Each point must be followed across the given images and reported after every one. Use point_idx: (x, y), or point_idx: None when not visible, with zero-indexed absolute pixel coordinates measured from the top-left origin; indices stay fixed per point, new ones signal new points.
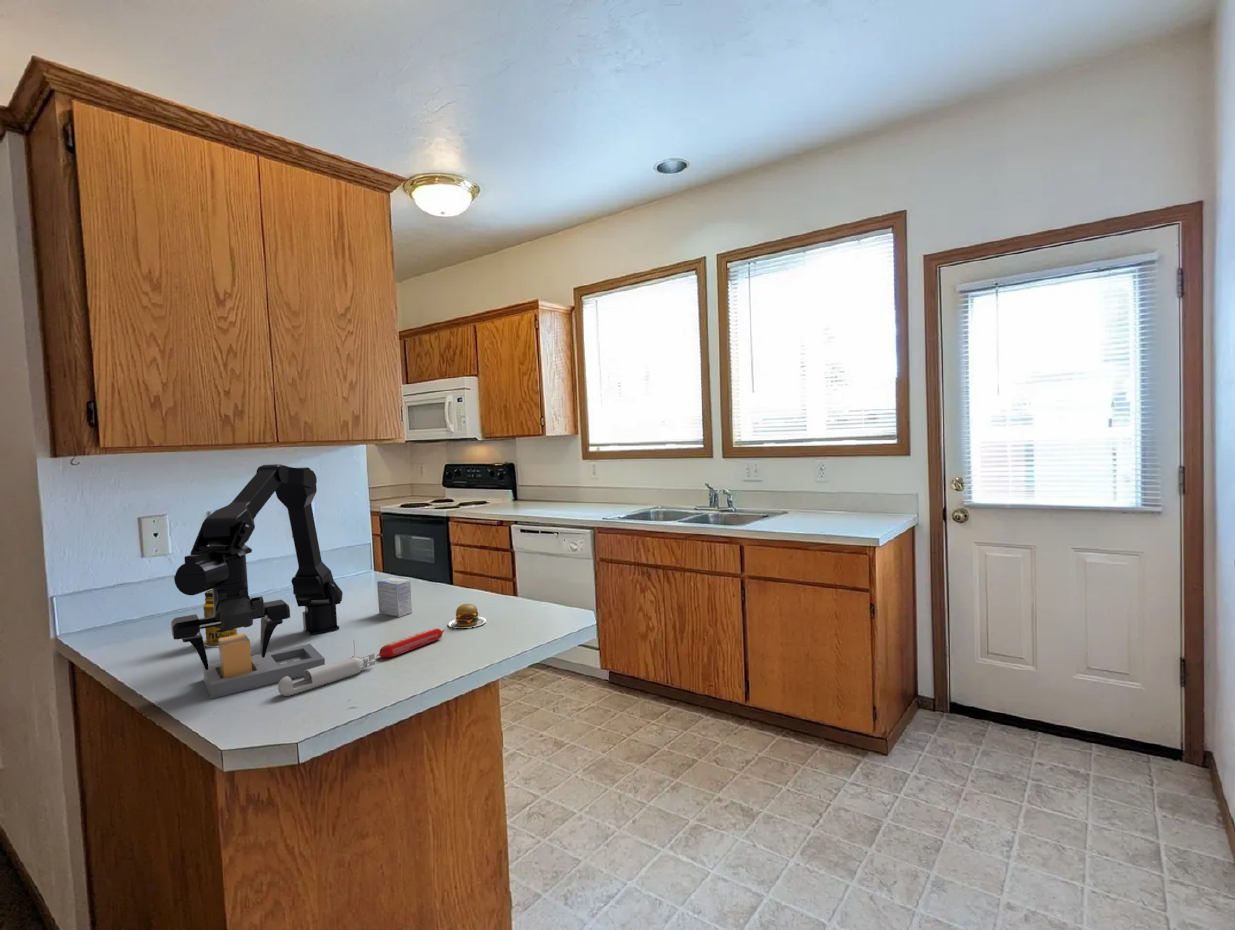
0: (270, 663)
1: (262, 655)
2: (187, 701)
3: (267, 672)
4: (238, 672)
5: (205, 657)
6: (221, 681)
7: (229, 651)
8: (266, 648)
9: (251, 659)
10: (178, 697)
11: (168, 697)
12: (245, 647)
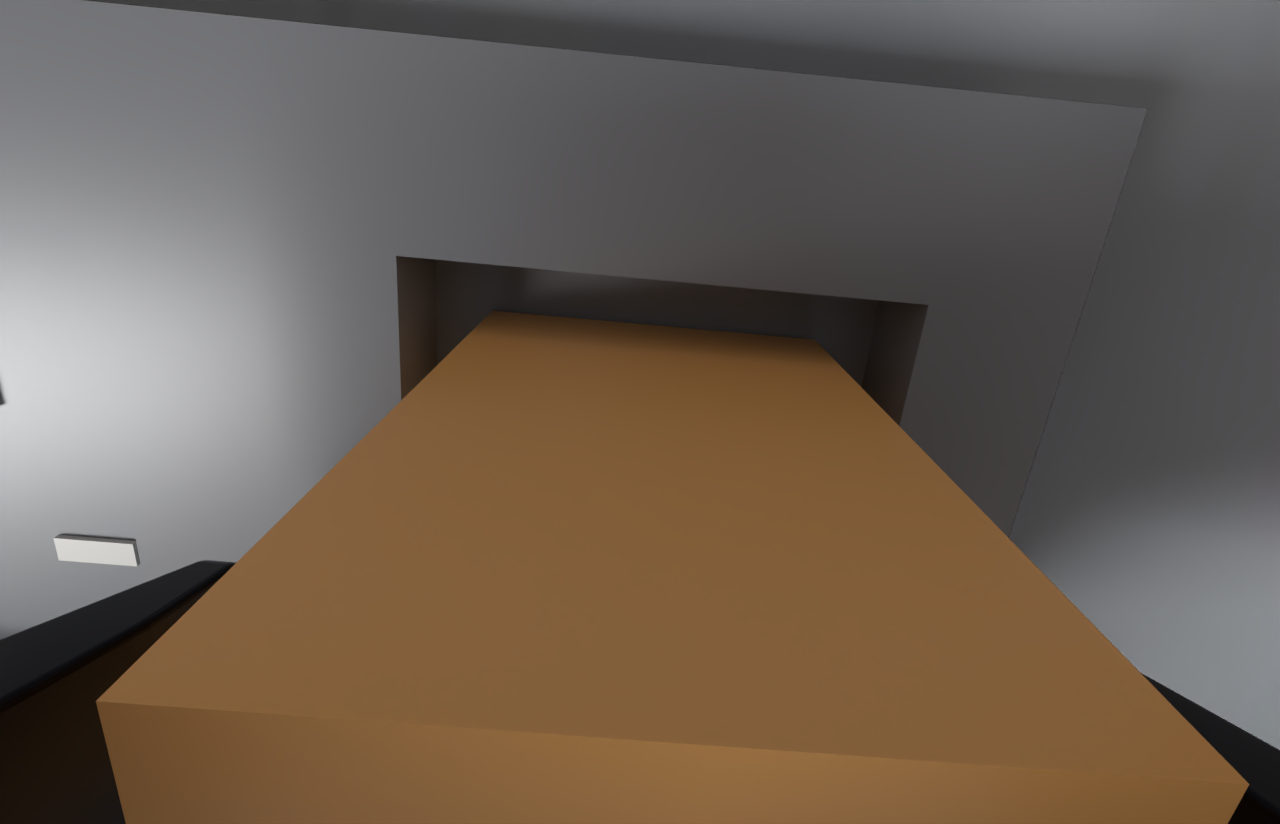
0: (190, 429)
1: (214, 574)
2: (1207, 266)
3: (265, 26)
4: (655, 354)
5: (1252, 773)
6: (967, 135)
7: (885, 573)
8: (36, 629)
9: None
10: (1194, 475)
11: (1244, 549)
12: (408, 550)
